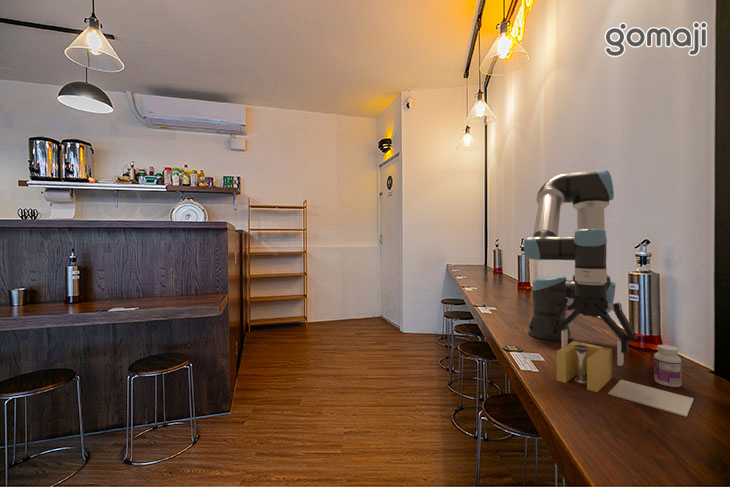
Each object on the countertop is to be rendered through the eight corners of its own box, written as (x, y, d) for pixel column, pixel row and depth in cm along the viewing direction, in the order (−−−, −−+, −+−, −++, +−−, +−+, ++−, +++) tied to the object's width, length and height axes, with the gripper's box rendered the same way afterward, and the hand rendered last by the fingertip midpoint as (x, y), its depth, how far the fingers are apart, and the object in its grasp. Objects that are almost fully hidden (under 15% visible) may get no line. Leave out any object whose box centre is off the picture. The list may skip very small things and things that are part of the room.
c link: (574, 367, 98) (573, 341, 98) (612, 377, 91) (612, 348, 91) (556, 380, 90) (556, 351, 90) (597, 392, 83) (597, 360, 83)
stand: (576, 377, 91) (576, 343, 91) (590, 381, 89) (590, 346, 89) (572, 381, 89) (572, 346, 89) (586, 385, 87) (586, 349, 86)
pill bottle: (655, 377, 91) (654, 342, 91) (681, 382, 87) (681, 346, 87) (653, 383, 87) (652, 347, 87) (681, 389, 83) (680, 352, 83)
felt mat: (620, 380, 89) (620, 379, 89) (693, 399, 78) (693, 398, 78) (608, 394, 82) (608, 392, 82) (686, 417, 71) (686, 415, 71)
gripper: (538, 280, 101) (539, 349, 101) (643, 288, 81) (644, 374, 81) (548, 278, 105) (549, 344, 105) (650, 286, 86) (651, 366, 86)
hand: (591, 357), depth 93 cm, fingers open, 13 cm apart
